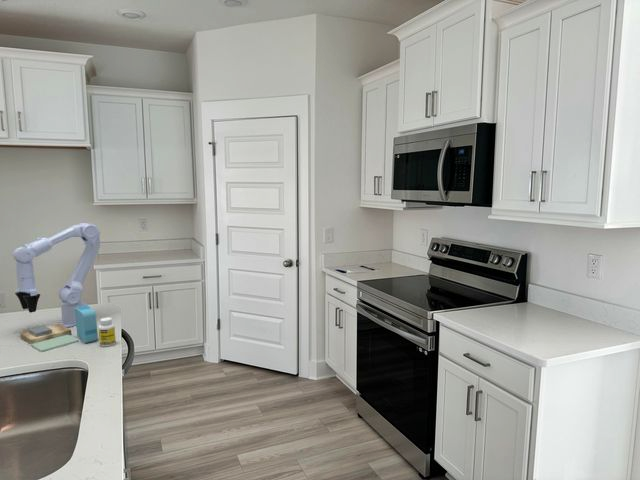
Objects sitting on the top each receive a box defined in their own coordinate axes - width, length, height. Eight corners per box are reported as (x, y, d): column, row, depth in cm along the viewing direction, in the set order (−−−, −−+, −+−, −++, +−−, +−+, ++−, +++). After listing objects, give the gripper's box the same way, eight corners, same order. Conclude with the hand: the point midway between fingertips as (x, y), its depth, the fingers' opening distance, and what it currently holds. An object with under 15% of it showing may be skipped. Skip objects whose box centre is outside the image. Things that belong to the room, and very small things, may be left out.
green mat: (68, 335, 175) (67, 334, 175) (79, 341, 168) (79, 340, 168) (30, 345, 165) (30, 344, 165) (41, 352, 158) (41, 350, 158)
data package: (98, 341, 169) (95, 310, 167) (85, 344, 166) (82, 313, 164) (89, 333, 178) (86, 304, 176) (77, 336, 175) (74, 306, 173)
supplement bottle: (100, 347, 162) (97, 322, 161) (99, 343, 167) (97, 318, 165) (116, 345, 164) (114, 319, 163) (115, 340, 169) (113, 315, 168)
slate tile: (44, 328, 177) (43, 325, 177) (51, 333, 172) (51, 329, 172) (28, 332, 173) (28, 329, 173) (36, 337, 168) (35, 333, 168)
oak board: (59, 328, 184) (58, 323, 183) (71, 334, 176) (71, 329, 176) (20, 338, 173) (20, 333, 173) (31, 345, 165) (31, 339, 165)
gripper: (7, 276, 177) (11, 309, 179) (20, 281, 168) (24, 316, 170) (27, 273, 183) (31, 305, 184) (41, 278, 173) (44, 311, 175)
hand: (29, 310), depth 178 cm, fingers open, 7 cm apart
